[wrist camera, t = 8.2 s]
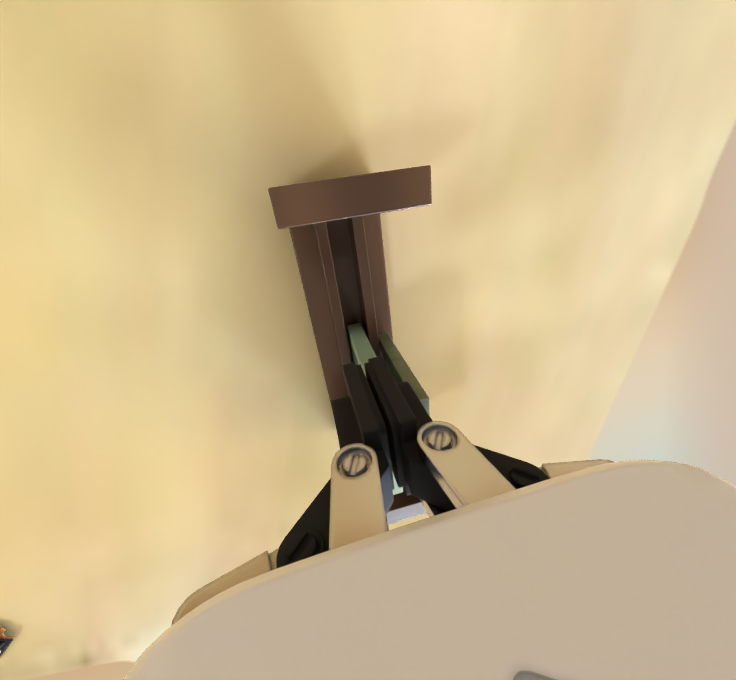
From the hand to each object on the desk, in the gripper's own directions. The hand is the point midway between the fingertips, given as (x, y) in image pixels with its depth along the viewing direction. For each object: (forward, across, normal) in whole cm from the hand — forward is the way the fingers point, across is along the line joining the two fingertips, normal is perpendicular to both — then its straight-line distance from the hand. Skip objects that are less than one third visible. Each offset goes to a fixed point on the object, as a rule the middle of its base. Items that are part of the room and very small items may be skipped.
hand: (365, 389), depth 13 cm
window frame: (+15, -2, +4) cm, 16 cm away
